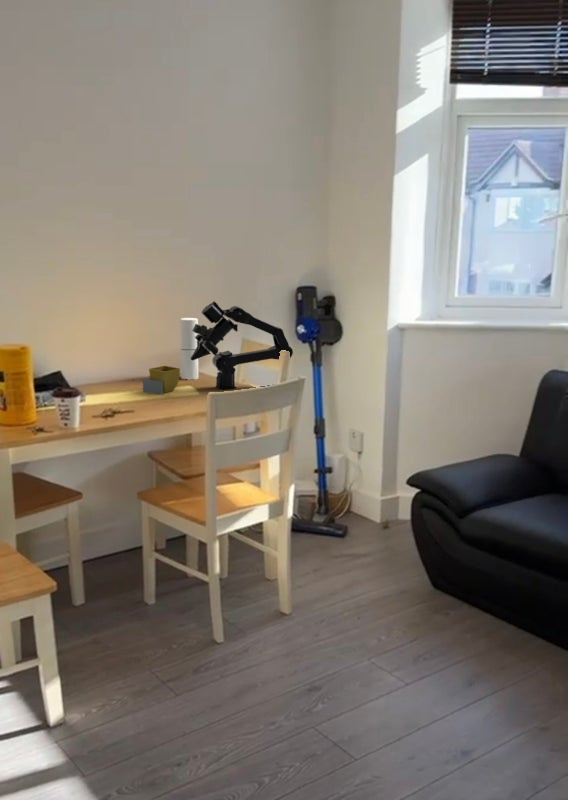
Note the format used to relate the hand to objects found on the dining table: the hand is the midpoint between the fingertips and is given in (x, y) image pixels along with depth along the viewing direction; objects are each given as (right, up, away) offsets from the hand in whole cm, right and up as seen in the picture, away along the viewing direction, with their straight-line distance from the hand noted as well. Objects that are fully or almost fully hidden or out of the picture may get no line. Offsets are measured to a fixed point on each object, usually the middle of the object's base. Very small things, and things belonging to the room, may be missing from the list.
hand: (191, 359), depth 302 cm
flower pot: (-10, -12, 0) cm, 16 cm away
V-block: (-15, -13, -2) cm, 20 cm away
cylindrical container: (-4, -7, +24) cm, 25 cm away
